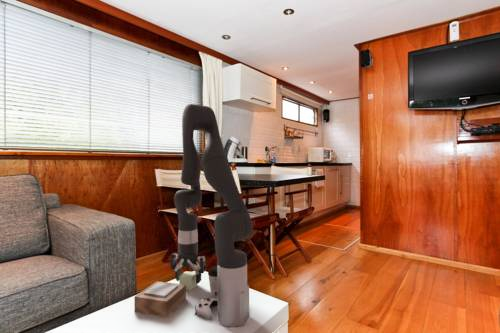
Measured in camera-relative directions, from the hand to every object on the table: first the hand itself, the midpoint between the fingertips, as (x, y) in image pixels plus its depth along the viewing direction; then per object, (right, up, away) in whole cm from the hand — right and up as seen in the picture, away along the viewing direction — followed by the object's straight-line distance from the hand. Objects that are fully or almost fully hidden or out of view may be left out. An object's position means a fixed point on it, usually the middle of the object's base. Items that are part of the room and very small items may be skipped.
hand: (188, 281), depth 107 cm
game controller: (+10, -3, -18) cm, 21 cm away
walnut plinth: (-6, -2, -14) cm, 15 cm away
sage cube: (0, -2, 0) cm, 2 cm away
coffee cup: (+13, -2, -8) cm, 15 cm away
